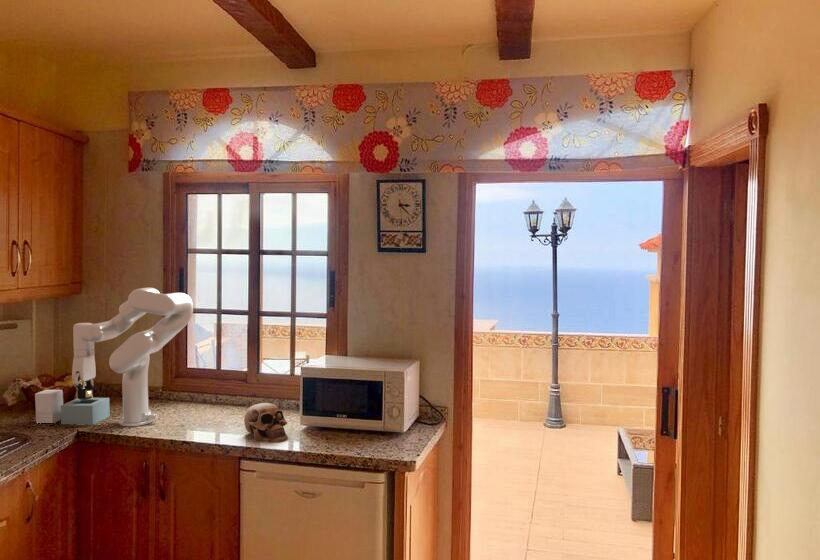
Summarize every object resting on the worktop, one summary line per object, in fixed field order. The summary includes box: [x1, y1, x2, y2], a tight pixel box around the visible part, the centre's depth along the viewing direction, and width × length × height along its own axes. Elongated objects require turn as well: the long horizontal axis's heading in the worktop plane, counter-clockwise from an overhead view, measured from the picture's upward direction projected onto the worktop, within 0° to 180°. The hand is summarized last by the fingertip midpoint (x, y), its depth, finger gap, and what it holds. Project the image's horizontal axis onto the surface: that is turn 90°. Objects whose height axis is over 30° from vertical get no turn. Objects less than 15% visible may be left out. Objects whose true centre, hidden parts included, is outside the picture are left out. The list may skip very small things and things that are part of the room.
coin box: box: [60, 397, 111, 426], centre depth 255 cm, size 13×13×8 cm
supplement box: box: [34, 389, 64, 425], centre depth 254 cm, size 7×7×13 cm
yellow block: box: [80, 390, 93, 400], centre depth 255 cm, size 5×5×3 cm
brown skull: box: [243, 402, 288, 443], centre depth 235 cm, size 16×17×13 cm
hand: (85, 396), depth 255 cm, fingers closed on yellow block, 4 cm apart
